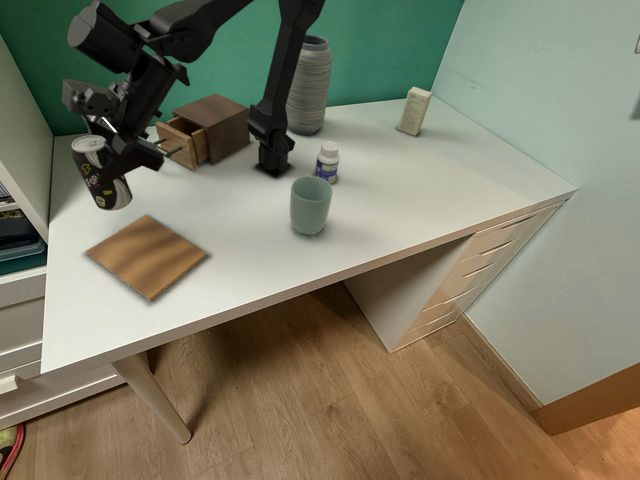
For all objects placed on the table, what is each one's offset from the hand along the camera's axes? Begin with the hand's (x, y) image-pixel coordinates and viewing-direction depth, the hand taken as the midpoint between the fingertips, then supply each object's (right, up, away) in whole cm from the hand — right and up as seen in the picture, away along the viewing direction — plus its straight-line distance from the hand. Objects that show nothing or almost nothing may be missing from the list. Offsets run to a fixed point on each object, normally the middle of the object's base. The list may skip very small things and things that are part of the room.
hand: (93, 174), depth 52 cm
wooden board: (+6, -13, +6) cm, 15 cm away
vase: (+31, +23, +44) cm, 59 cm away
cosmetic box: (+64, +24, +50) cm, 85 cm away
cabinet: (+10, +14, +32) cm, 36 cm away
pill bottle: (+38, +5, +28) cm, 47 cm away
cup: (+34, -8, +16) cm, 38 cm away
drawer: (+5, +10, +26) cm, 28 cm away
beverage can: (0, -4, +6) cm, 7 cm away
